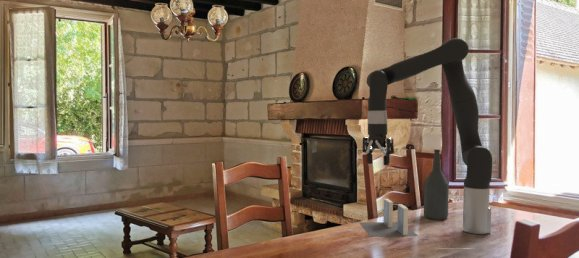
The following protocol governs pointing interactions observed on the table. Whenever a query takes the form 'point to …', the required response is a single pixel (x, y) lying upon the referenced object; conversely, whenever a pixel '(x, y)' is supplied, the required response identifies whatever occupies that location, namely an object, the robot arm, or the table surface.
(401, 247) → the table surface
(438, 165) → the bottle
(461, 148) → the robot arm
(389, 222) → the tile
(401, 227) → the tile
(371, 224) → the mat
